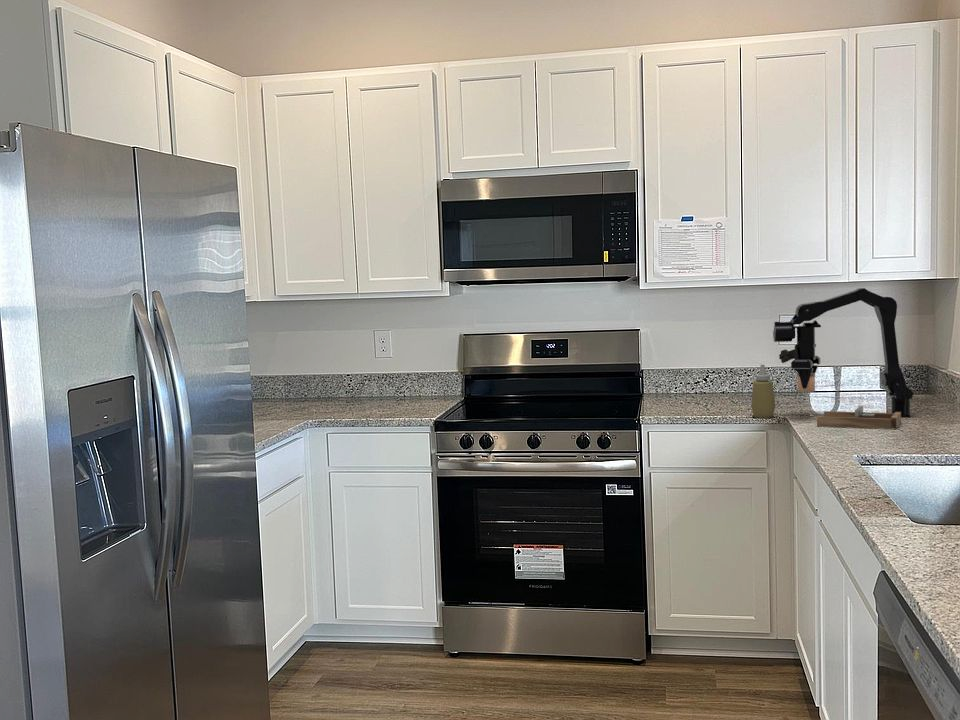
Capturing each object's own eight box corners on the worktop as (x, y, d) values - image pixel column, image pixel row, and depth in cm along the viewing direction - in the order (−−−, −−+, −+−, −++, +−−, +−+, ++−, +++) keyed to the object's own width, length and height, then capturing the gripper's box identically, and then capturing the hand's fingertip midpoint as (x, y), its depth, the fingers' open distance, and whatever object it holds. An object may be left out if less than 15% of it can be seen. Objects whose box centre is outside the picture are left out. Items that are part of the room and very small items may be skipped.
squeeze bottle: (746, 416, 324) (745, 364, 322) (765, 414, 326) (764, 363, 325) (761, 419, 316) (760, 366, 315) (780, 417, 319) (780, 364, 318)
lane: (824, 420, 308) (824, 409, 308) (901, 422, 297) (901, 411, 297) (817, 426, 296) (816, 415, 296) (896, 429, 285) (896, 417, 285)
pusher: (859, 418, 301) (859, 405, 301) (876, 418, 299) (876, 406, 299) (854, 422, 292) (854, 410, 292) (872, 423, 290) (872, 410, 290)
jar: (798, 389, 319) (798, 372, 319) (816, 390, 316) (816, 372, 316) (795, 391, 314) (795, 373, 314) (813, 391, 311) (813, 373, 311)
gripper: (786, 339, 326) (787, 384, 327) (775, 343, 310) (775, 390, 311) (820, 339, 321) (820, 384, 322) (810, 343, 305) (810, 390, 306)
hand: (806, 387), depth 315 cm, fingers closed on jar, 6 cm apart
